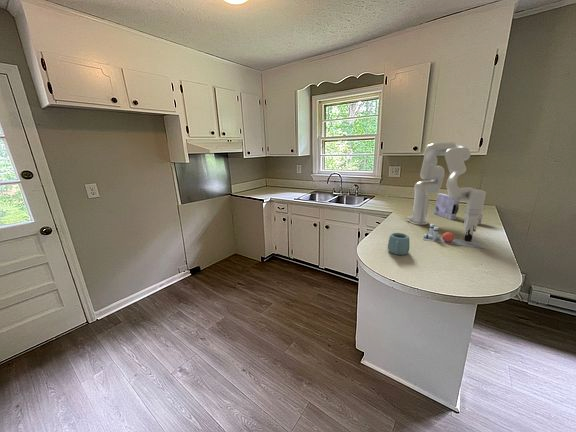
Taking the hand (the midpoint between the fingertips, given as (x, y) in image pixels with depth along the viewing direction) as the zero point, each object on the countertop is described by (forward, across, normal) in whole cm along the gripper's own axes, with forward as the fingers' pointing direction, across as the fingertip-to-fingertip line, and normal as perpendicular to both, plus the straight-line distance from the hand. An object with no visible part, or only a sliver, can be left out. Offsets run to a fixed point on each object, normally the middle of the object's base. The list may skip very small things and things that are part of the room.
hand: (467, 241), depth 143 cm
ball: (-2, +2, -10) cm, 11 cm away
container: (+2, -47, +8) cm, 48 cm away
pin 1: (+2, -2, -19) cm, 19 cm away
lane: (+2, 0, -8) cm, 8 cm away
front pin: (0, 0, -14) cm, 14 cm away
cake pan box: (+2, -58, -9) cm, 59 cm away
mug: (+2, +33, -35) cm, 48 cm away
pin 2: (+2, +3, -17) cm, 17 cm away
